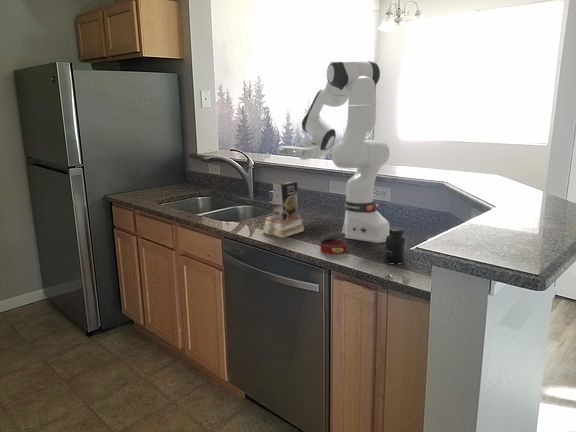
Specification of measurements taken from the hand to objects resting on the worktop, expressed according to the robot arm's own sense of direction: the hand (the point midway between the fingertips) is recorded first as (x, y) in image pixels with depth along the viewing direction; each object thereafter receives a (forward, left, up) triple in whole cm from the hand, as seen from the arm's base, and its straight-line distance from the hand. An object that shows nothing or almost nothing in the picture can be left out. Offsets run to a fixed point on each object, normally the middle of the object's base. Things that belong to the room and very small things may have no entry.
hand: (286, 152), depth 209 cm
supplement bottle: (-67, +19, -32) cm, 77 cm away
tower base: (-12, +16, -32) cm, 38 cm away
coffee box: (-13, +15, -27) cm, 33 cm away
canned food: (-43, +22, -32) cm, 58 cm away
